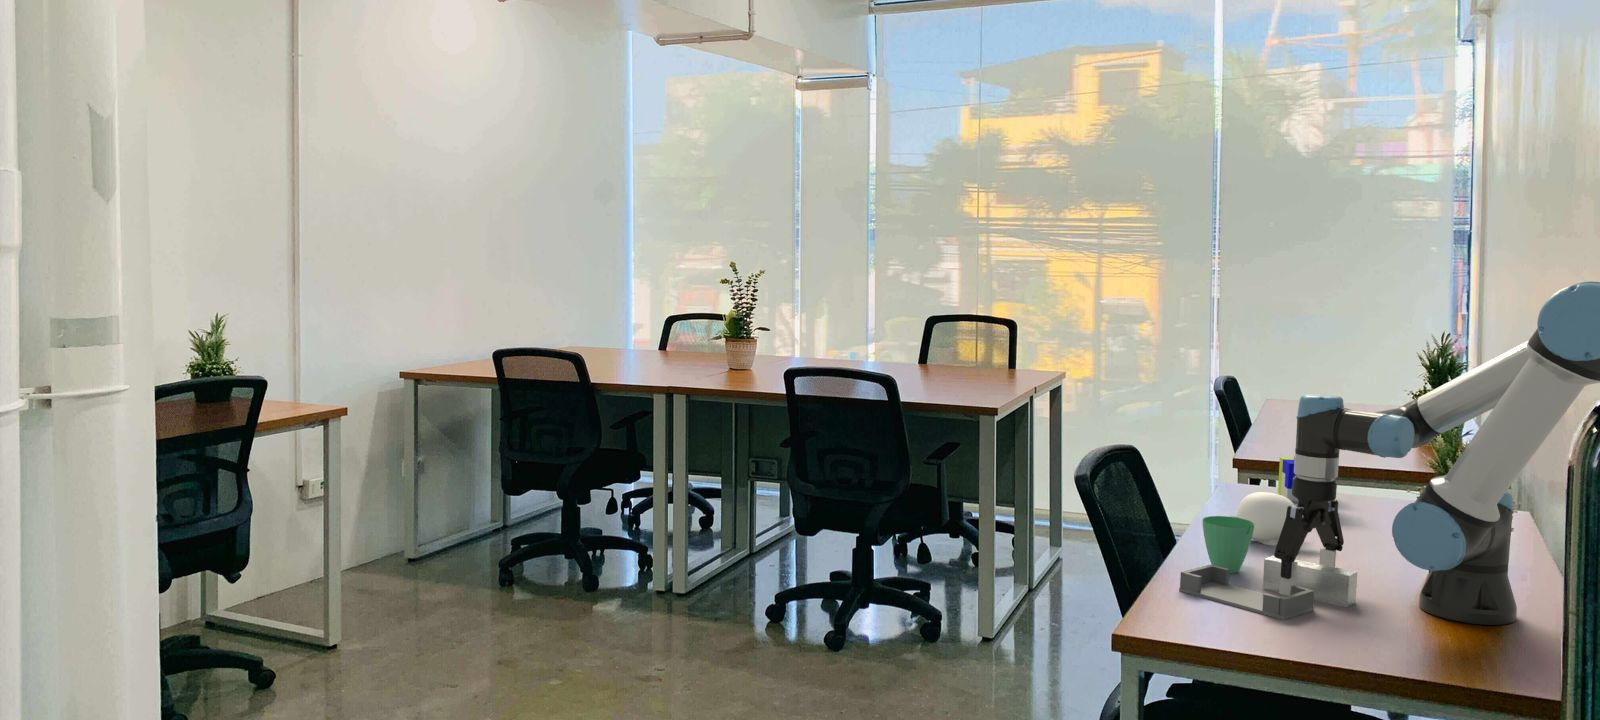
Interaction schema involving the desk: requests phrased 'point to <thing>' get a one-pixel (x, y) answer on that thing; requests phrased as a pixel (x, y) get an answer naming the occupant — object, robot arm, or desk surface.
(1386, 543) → the desk surface
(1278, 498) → the piggy bank
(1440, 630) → the desk surface
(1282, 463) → the puzzle toy
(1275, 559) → the white rectangular block
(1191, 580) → the end caps
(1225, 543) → the mug
